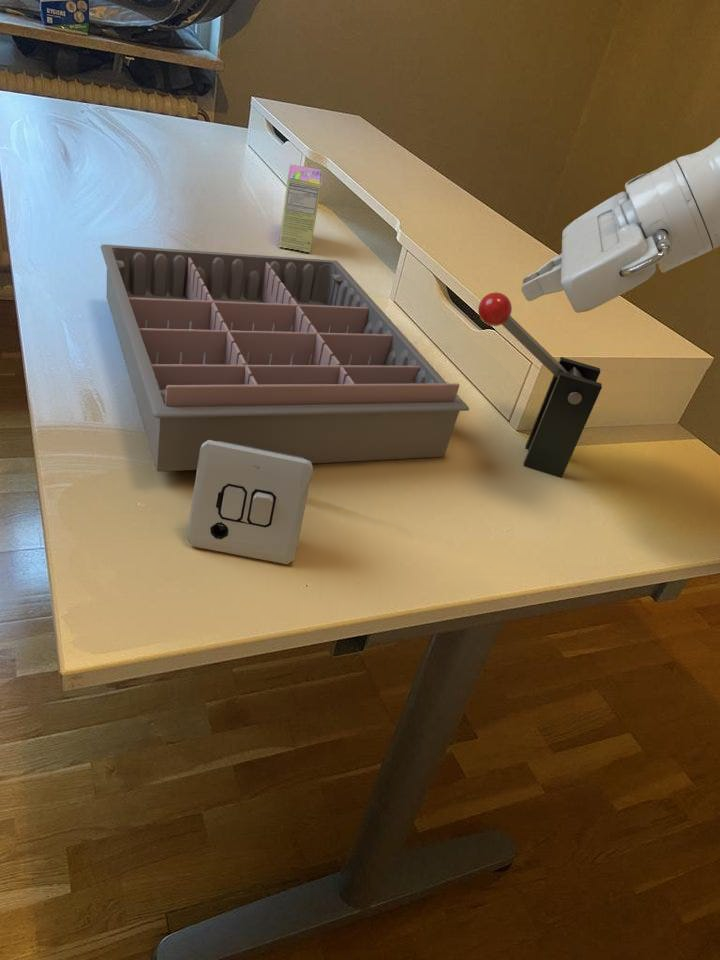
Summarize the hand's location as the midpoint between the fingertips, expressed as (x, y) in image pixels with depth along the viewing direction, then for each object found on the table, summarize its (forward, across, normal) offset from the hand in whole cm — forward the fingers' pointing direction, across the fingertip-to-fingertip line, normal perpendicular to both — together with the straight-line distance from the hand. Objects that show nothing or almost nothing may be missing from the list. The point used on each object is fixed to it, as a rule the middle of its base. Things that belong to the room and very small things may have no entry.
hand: (524, 290), depth 75 cm
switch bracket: (+8, 0, -20) cm, 21 cm away
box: (+41, +53, +13) cm, 68 cm away
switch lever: (+3, 0, -6) cm, 7 cm away
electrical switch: (+26, -27, -2) cm, 38 cm away
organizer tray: (+32, +1, +4) cm, 33 cm away
